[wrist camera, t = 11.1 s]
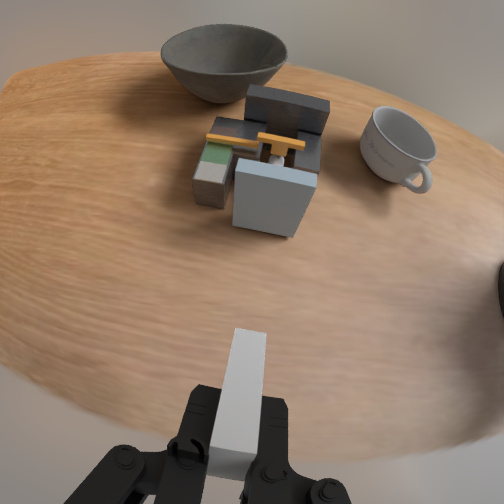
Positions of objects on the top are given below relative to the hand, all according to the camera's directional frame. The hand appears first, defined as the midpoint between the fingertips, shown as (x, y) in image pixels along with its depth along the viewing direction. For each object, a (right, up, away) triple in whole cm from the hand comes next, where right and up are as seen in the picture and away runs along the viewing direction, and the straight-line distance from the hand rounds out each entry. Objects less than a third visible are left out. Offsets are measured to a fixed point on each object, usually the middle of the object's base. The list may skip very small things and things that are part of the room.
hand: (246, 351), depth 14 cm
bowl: (-4, +31, +30) cm, 43 cm away
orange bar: (0, +17, +18) cm, 25 cm away
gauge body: (+1, +15, +23) cm, 28 cm away
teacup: (+21, +17, +26) cm, 37 cm away
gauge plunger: (+2, +11, +21) cm, 24 cm away
